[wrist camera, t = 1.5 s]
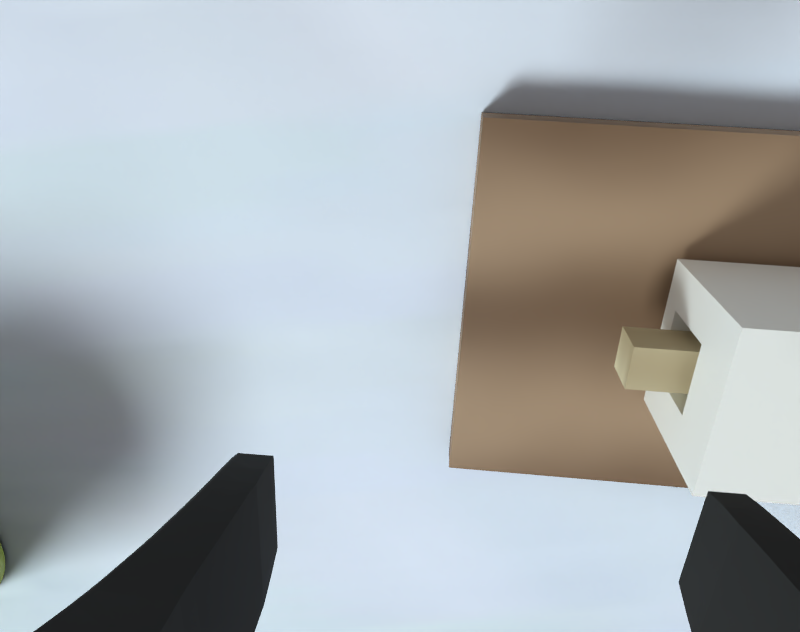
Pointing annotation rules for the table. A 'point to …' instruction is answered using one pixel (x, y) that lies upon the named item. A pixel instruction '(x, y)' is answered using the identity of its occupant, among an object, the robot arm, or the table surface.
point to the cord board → (600, 282)
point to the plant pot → (2, 563)
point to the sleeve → (736, 380)
